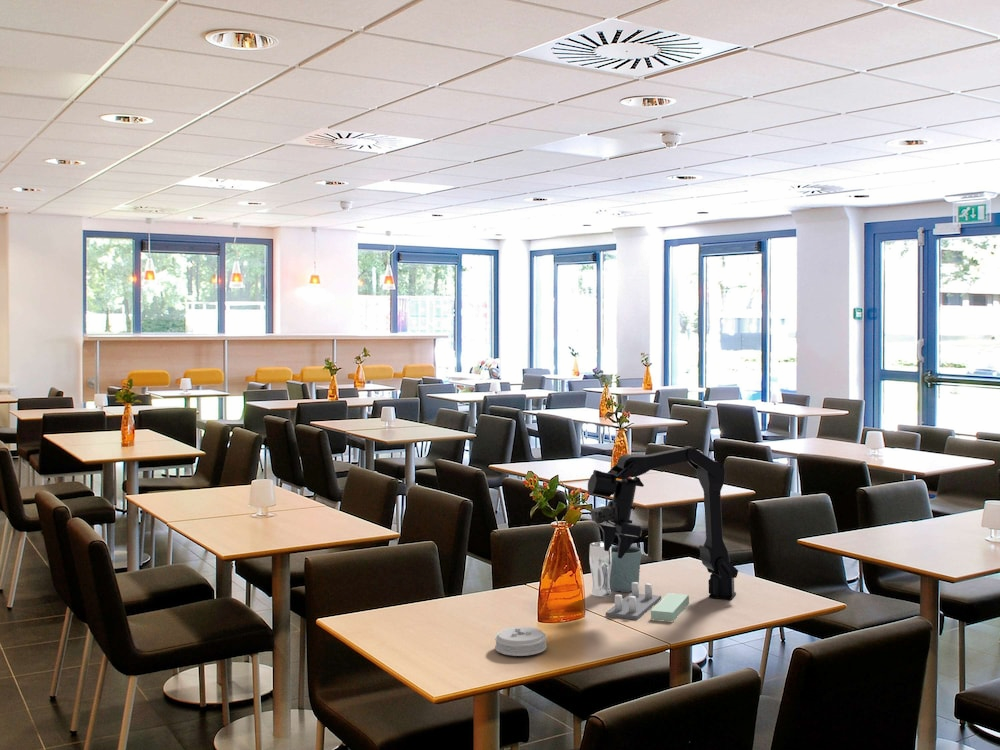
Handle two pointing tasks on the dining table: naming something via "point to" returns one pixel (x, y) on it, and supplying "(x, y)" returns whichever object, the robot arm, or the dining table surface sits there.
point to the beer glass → (601, 569)
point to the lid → (520, 641)
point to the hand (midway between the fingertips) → (612, 554)
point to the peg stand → (633, 603)
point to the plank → (670, 607)
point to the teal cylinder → (625, 569)
